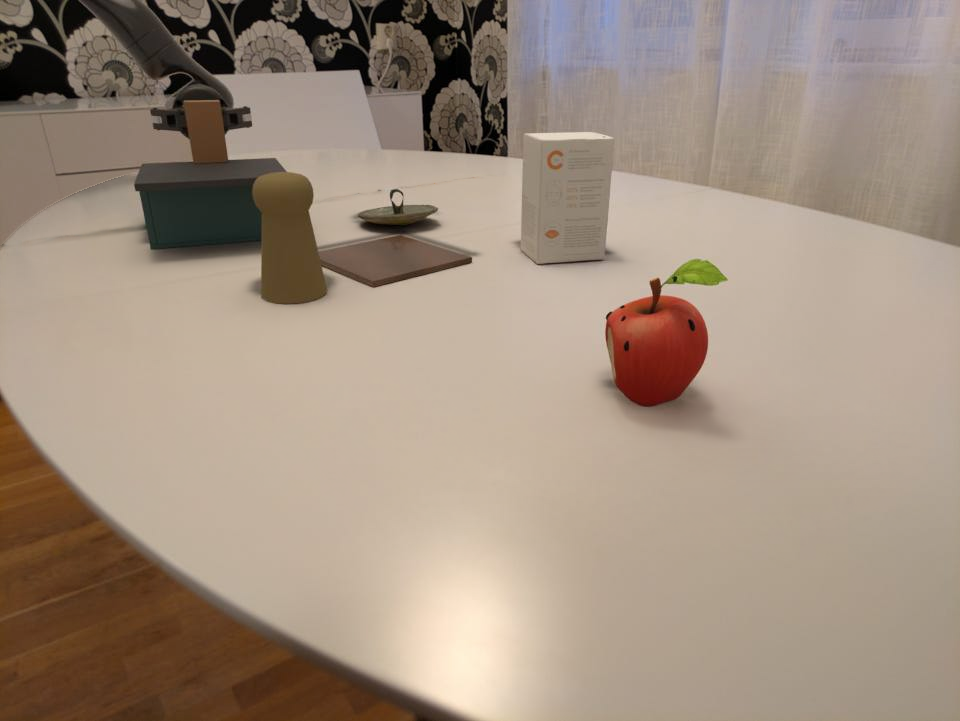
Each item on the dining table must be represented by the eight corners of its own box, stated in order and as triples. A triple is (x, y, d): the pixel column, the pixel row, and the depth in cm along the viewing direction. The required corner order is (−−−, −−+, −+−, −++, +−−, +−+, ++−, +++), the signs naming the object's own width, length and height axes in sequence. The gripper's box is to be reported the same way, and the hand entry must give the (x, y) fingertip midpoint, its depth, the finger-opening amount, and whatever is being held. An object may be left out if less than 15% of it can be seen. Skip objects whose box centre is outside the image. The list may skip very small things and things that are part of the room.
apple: (576, 403, 44) (588, 254, 40) (618, 367, 49) (632, 231, 45) (693, 438, 40) (720, 277, 36) (725, 394, 45) (751, 249, 41)
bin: (150, 249, 77) (137, 182, 74) (155, 223, 88) (144, 164, 85) (290, 238, 82) (283, 175, 79) (278, 214, 93) (271, 159, 90)
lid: (412, 248, 84) (421, 209, 81) (342, 221, 85) (349, 183, 83) (442, 232, 93) (451, 197, 91) (379, 208, 95) (386, 174, 92)
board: (373, 287, 65) (372, 281, 65) (305, 259, 74) (304, 253, 73) (472, 262, 73) (472, 257, 73) (400, 239, 82) (400, 234, 82)
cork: (261, 306, 60) (243, 180, 55) (261, 285, 65) (245, 169, 61) (329, 300, 61) (318, 177, 57) (324, 280, 67) (314, 166, 62)
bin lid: (135, 191, 69) (119, 110, 66) (142, 170, 81) (129, 101, 78) (291, 182, 74) (283, 107, 71) (276, 164, 86) (268, 99, 83)
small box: (583, 246, 80) (592, 130, 74) (605, 260, 74) (616, 137, 69) (518, 249, 78) (522, 132, 72) (535, 265, 72) (541, 138, 67)
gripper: (145, 85, 92) (137, 91, 77) (246, 84, 97) (256, 90, 82) (155, 142, 95) (150, 158, 81) (253, 138, 100) (264, 153, 85)
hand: (204, 124), depth 81 cm, fingers closed
